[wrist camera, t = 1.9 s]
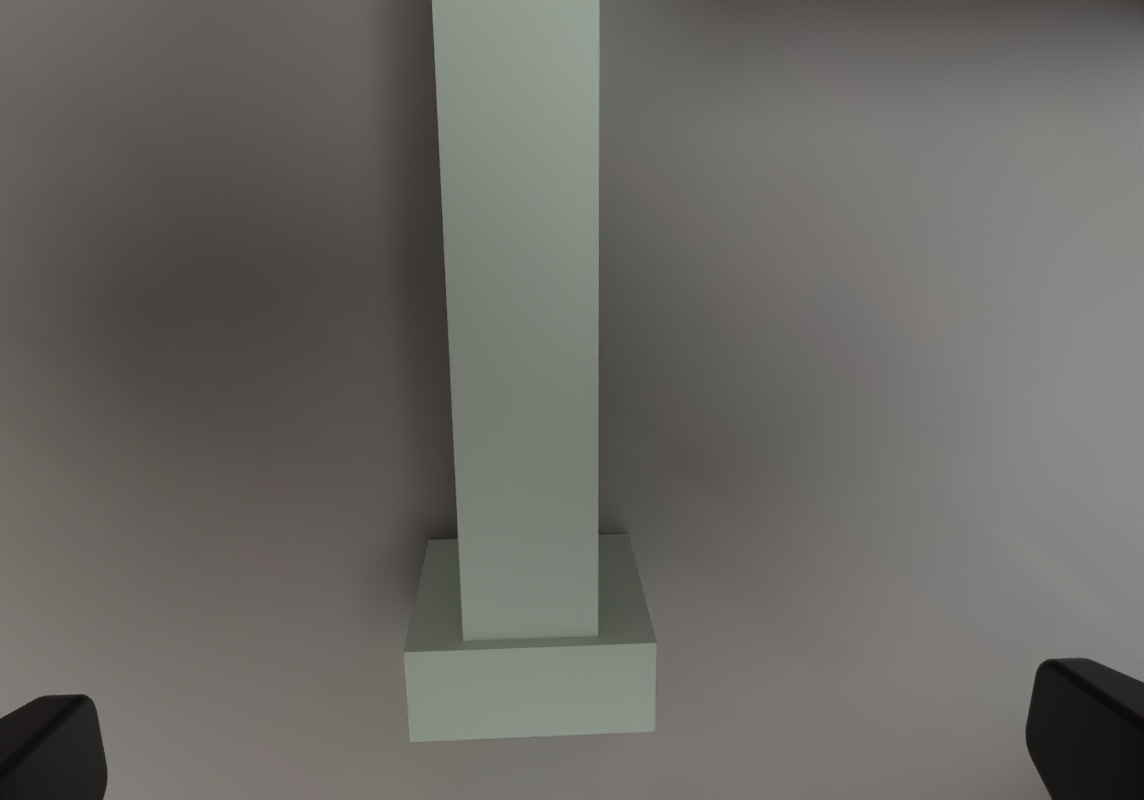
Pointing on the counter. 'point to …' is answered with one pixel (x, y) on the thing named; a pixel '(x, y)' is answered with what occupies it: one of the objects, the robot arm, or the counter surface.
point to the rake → (524, 398)
